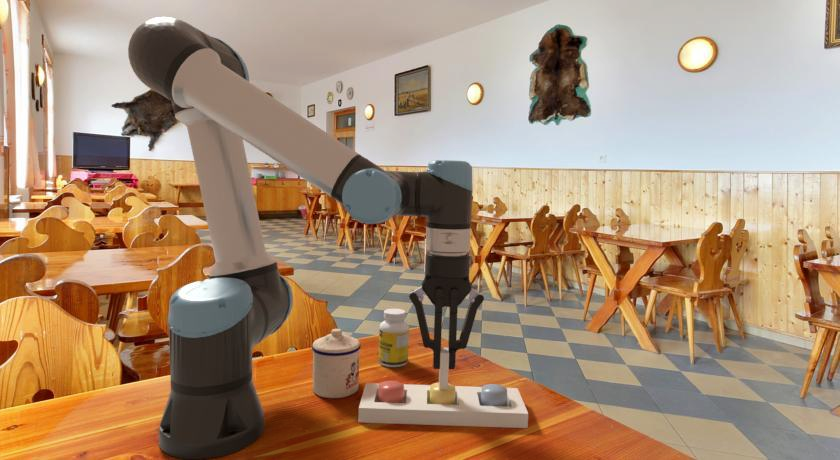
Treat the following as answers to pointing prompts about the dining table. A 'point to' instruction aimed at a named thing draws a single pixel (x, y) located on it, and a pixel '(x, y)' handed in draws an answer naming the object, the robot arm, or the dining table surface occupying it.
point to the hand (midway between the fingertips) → (443, 386)
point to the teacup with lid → (336, 365)
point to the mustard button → (442, 394)
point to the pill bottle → (393, 339)
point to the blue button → (493, 395)
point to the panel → (442, 408)
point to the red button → (391, 392)
